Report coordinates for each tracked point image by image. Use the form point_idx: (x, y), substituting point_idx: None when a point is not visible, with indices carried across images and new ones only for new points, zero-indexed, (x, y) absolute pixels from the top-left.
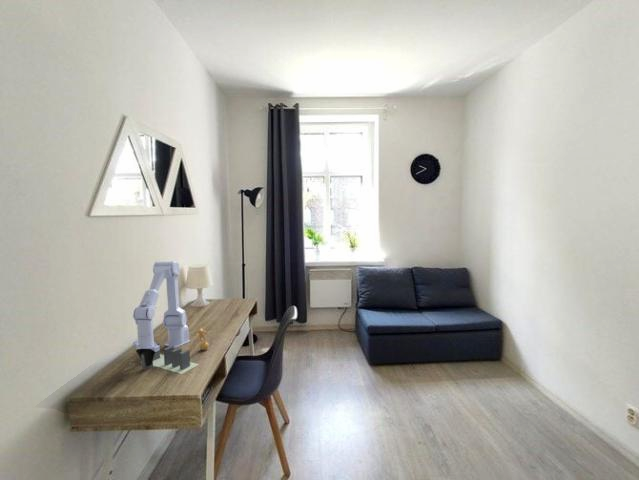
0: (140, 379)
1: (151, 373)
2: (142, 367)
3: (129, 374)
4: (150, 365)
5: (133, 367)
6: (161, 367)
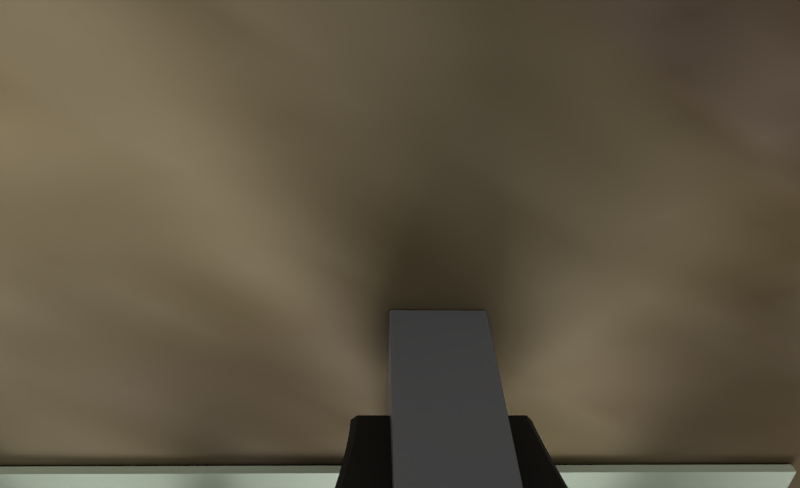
0: (64, 20)
1: (149, 299)
2: (475, 357)
3: (618, 80)
4: None
5: (792, 314)
6: (195, 482)
